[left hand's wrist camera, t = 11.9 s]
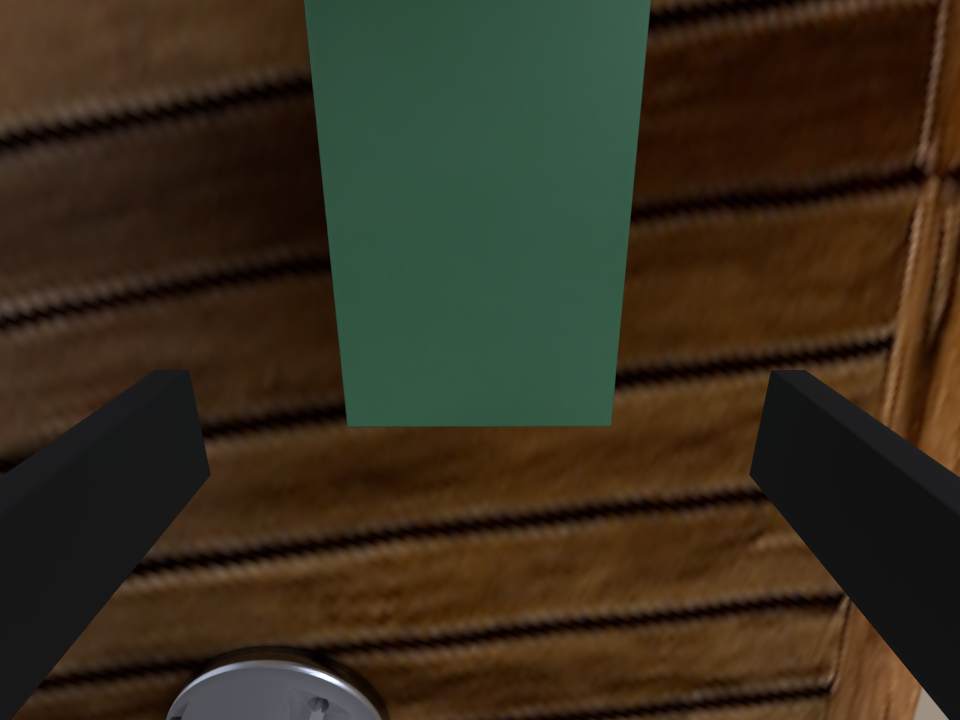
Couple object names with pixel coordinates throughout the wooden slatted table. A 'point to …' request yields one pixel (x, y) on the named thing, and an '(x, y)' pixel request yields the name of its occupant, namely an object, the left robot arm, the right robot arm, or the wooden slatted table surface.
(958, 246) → the wooden slatted table surface
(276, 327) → the wooden slatted table surface
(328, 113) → the cabinet
